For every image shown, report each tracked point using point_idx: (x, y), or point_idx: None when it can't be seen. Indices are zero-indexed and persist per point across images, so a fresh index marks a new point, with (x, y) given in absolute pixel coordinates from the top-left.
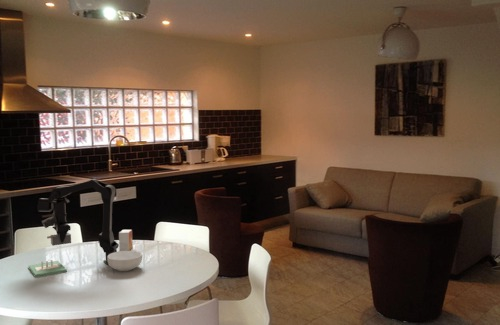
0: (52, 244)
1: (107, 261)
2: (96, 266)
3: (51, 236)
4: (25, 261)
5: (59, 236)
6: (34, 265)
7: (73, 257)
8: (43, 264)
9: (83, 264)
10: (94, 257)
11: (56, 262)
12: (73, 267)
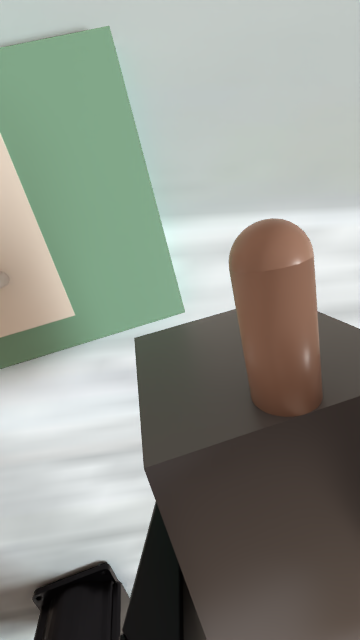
0: (149, 340)
1: (55, 601)
2: (10, 545)
3: (270, 413)
4: (347, 12)
5: (174, 612)
6: (88, 100)
7: None
8: (99, 195)
9: (82, 472)
10: None
11: (131, 306)
12: (20, 424)
